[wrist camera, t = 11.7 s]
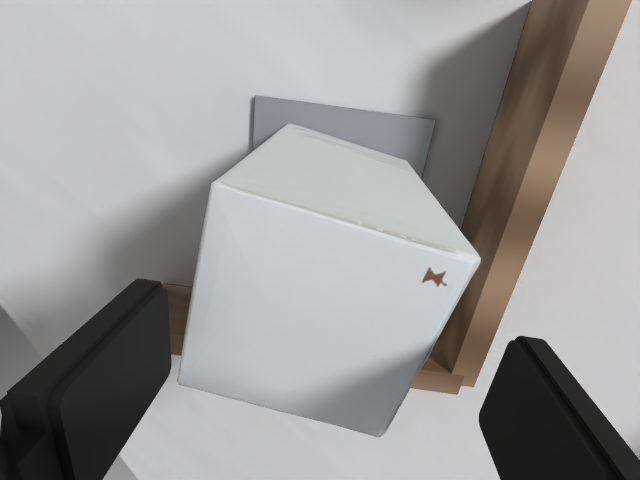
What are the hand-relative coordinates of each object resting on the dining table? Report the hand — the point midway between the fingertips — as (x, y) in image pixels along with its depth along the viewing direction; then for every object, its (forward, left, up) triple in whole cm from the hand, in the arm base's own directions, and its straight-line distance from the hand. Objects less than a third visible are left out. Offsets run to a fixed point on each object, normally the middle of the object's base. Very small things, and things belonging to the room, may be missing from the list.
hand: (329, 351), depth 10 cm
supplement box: (0, +1, -13) cm, 13 cm away
